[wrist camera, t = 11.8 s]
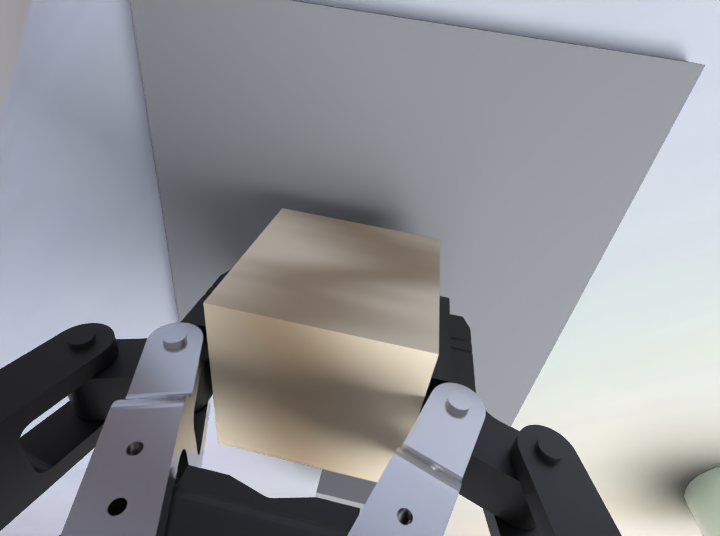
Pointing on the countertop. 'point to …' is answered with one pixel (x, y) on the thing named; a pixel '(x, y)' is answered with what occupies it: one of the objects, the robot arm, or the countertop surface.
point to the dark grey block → (344, 489)
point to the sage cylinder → (705, 501)
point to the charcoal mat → (404, 152)
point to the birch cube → (325, 342)
